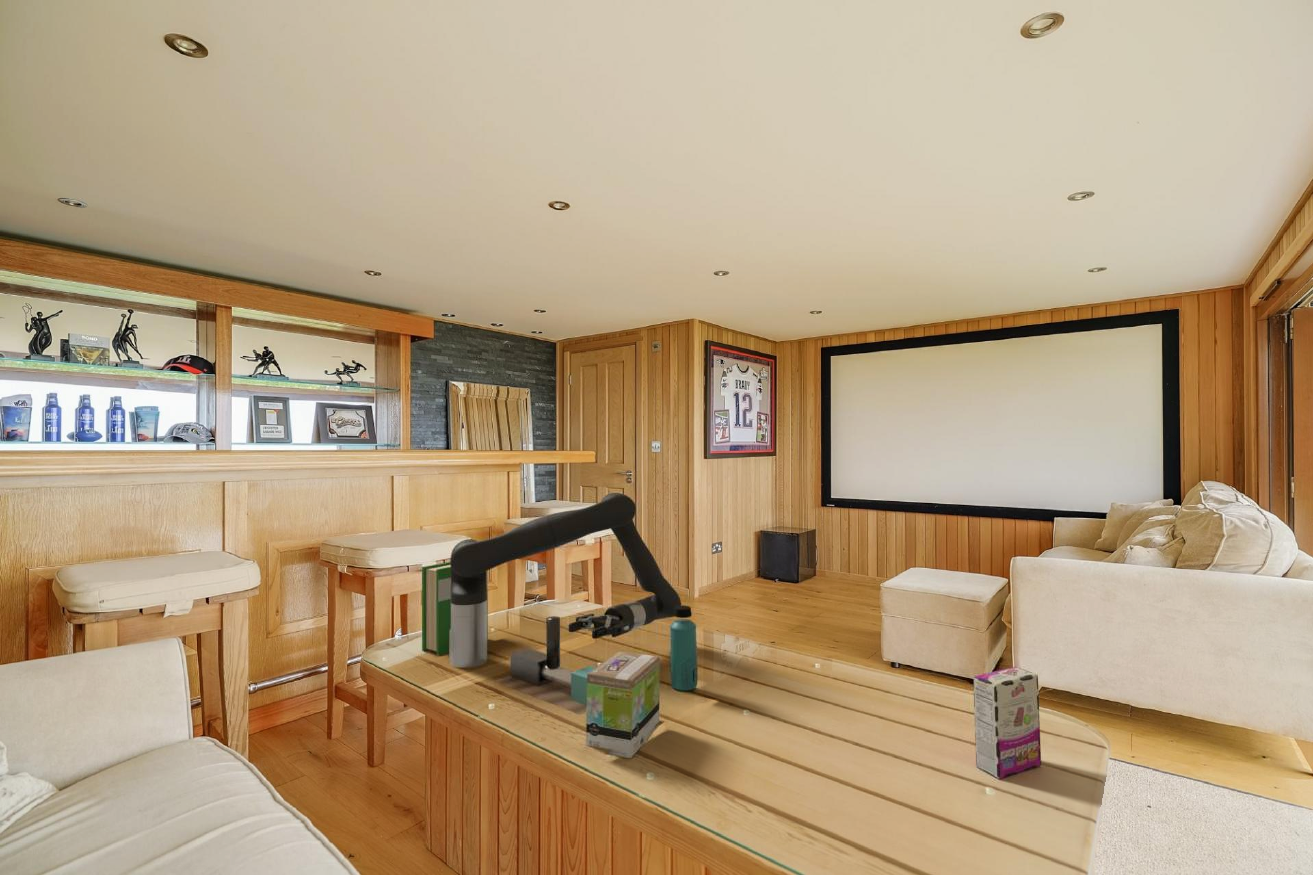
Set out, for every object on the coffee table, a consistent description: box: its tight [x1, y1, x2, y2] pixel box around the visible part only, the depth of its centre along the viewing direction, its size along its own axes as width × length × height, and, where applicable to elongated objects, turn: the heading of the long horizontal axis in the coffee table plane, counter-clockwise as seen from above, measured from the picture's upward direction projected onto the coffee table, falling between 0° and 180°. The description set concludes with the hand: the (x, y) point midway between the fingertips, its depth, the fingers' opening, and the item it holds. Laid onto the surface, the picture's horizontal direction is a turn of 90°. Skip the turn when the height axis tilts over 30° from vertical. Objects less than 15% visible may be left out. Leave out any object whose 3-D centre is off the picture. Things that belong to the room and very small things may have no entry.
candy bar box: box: [972, 666, 1042, 780], centre depth 111 cm, size 11×5×16 cm, turn 114°
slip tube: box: [540, 615, 574, 687], centre depth 149 cm, size 20×3×15 cm, turn 50°
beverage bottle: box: [669, 605, 699, 691], centre depth 147 cm, size 6×7×20 cm
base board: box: [494, 675, 587, 715], centre depth 147 cm, size 30×14×1 cm, turn 50°
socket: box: [571, 665, 597, 706], centre depth 140 cm, size 7×6×6 cm
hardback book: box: [421, 561, 489, 656], centre depth 183 cm, size 18×7×24 cm, turn 146°
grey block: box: [509, 647, 551, 687], centre depth 153 cm, size 10×5×6 cm, turn 50°
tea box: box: [585, 650, 661, 759], centre depth 123 cm, size 15×10×15 cm, turn 160°
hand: (581, 631), depth 155 cm, fingers open, 8 cm apart
